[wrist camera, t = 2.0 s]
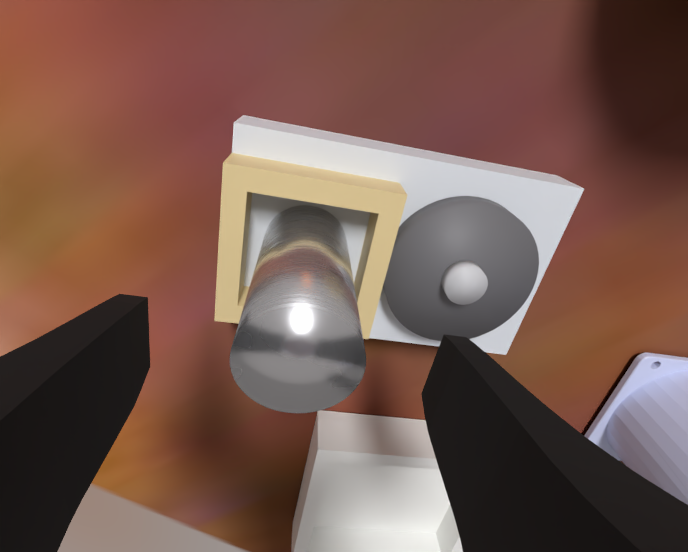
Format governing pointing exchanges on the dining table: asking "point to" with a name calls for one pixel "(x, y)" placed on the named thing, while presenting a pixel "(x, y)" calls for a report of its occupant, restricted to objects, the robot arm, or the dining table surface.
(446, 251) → the white flat block
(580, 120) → the dining table surface
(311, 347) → the lock pin
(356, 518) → the tray
